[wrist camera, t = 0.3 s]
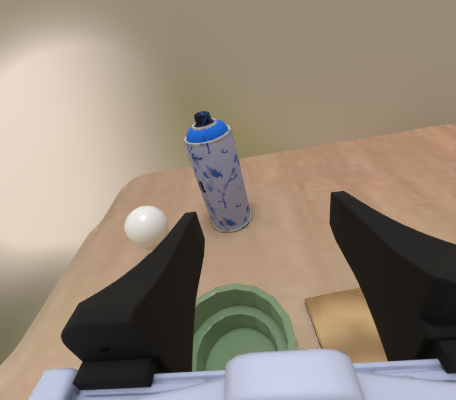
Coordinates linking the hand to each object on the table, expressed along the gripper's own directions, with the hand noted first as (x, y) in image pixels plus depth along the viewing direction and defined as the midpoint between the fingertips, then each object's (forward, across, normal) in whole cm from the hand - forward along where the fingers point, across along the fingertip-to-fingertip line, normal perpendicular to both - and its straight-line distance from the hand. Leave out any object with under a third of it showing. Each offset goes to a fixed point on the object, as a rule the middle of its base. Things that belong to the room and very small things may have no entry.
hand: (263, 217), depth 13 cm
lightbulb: (+18, +17, +20) cm, 32 cm away
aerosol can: (+26, +6, +20) cm, 33 cm away
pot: (+1, +4, +21) cm, 21 cm away
